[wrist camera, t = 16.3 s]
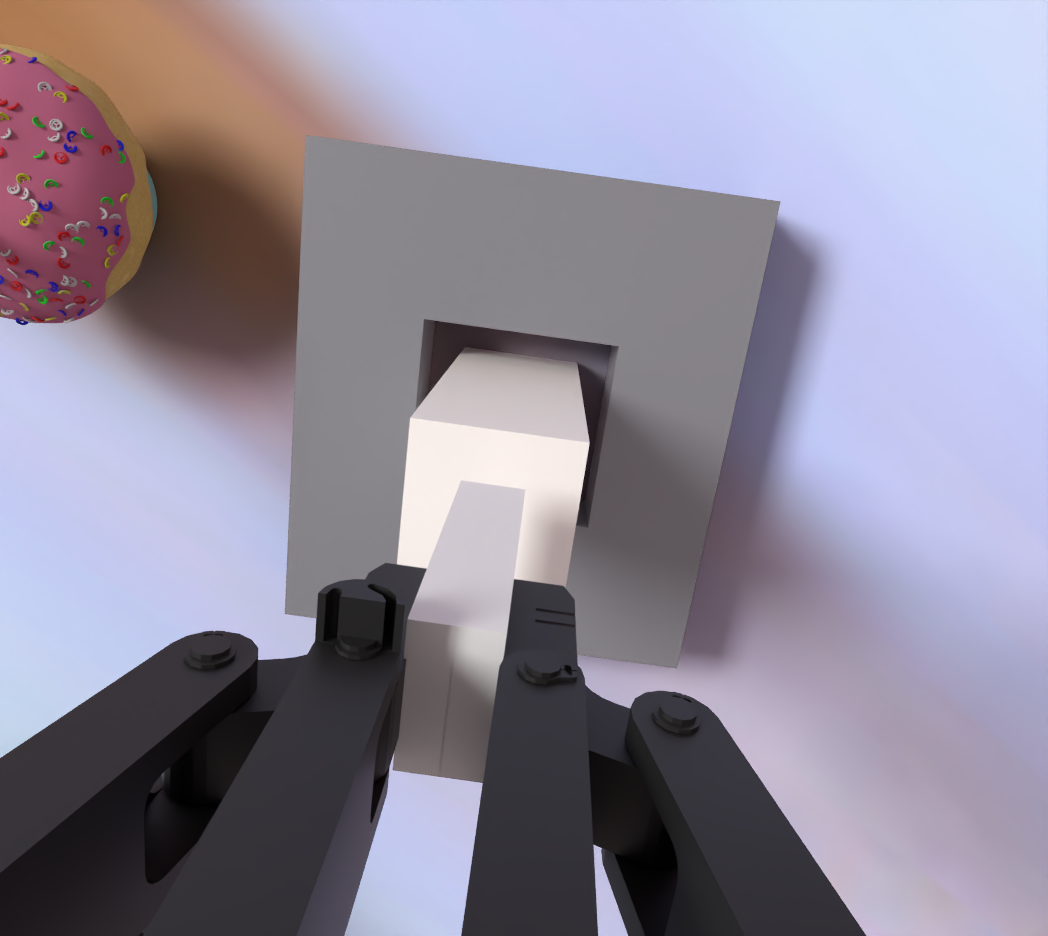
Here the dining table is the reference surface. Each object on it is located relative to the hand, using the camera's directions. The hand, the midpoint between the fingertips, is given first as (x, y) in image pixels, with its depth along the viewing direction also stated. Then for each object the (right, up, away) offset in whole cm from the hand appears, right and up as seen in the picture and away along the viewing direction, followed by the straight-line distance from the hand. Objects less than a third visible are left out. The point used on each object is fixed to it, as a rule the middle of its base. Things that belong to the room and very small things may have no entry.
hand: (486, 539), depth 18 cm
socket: (0, +4, +13) cm, 14 cm away
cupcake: (-16, +12, +12) cm, 23 cm away
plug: (0, +4, +13) cm, 14 cm away
